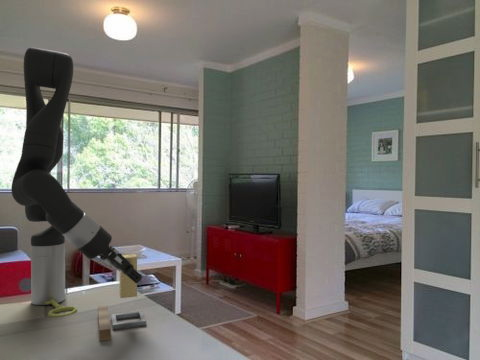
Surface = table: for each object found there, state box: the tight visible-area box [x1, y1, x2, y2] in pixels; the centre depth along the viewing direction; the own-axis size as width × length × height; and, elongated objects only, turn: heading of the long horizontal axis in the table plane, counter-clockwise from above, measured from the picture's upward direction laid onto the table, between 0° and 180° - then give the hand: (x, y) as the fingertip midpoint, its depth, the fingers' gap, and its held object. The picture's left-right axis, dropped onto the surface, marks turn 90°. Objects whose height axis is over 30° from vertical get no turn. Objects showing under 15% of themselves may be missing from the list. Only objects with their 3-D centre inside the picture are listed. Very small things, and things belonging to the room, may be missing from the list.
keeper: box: [110, 310, 147, 331], centre depth 104 cm, size 8×8×1 cm
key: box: [45, 299, 78, 318], centre depth 112 cm, size 7×12×2 cm, turn 59°
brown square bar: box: [97, 305, 112, 342], centre depth 101 cm, size 18×2×2 cm, turn 20°
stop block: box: [118, 253, 138, 299], centre depth 103 cm, size 4×4×10 cm
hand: (135, 277), depth 104 cm, fingers closed on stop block, 5 cm apart
